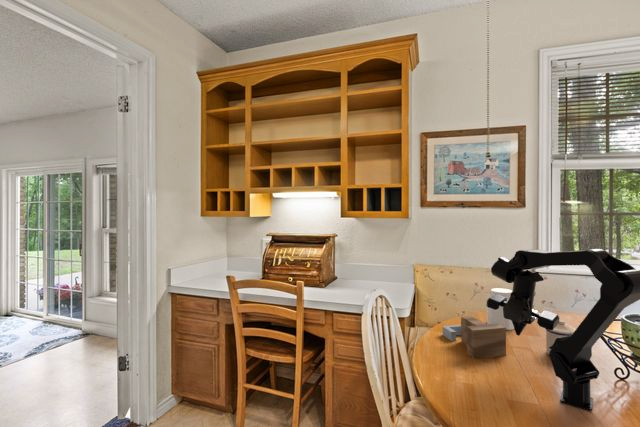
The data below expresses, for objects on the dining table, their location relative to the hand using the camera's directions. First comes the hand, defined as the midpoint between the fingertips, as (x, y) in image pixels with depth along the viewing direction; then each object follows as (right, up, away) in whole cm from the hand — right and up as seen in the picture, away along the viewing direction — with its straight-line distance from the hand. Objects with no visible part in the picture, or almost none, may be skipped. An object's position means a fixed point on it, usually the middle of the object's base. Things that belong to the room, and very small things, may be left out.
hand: (518, 334), depth 107 cm
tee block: (-6, -10, +15) cm, 19 cm away
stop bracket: (-7, -10, +26) cm, 29 cm away
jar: (+15, -10, +38) cm, 42 cm away
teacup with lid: (+21, -10, +9) cm, 25 cm away
